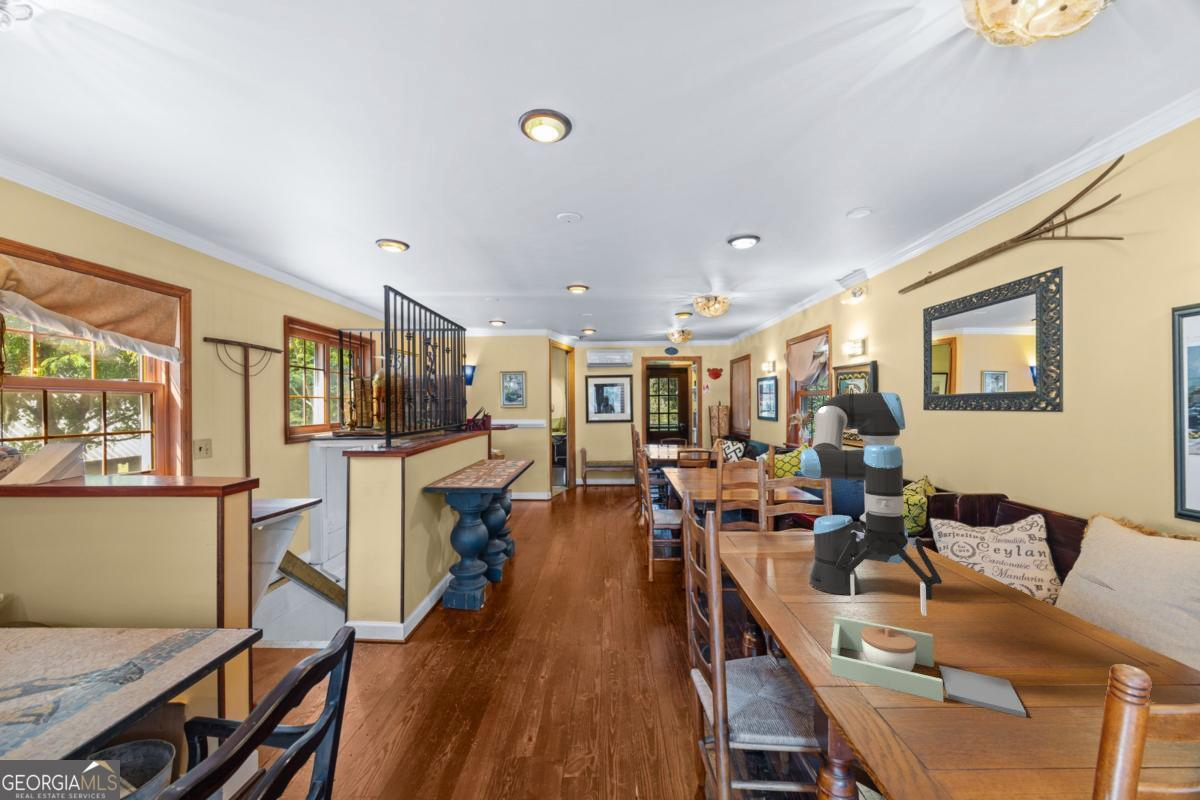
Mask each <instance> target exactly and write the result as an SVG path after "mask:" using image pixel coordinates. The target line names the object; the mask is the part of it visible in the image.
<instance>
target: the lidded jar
mask: <svg viewBox="0 0 1200 800" xmlns="http://www.w3.org/2000/svg"><path fill="white" fill-rule="evenodd" d="M861 637H862V648H863V652H862V653H863V655H864V657H865V660H866V662H869V663H873V664H878V665H882V666H887V667H891V668H896V669H900V670H904V671H909V672H912V670H913V669H914V668H915V664H916V663H915V661H916V648H917V643H916V641H915V640H914V638H912V637H911V636H910V635H908V634H906V633H904V632H902V631H899V630H896V629H893V628H888V627H883V626H868V627H865V628H863V629H862V630H861Z"/></svg>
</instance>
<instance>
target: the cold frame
mask: <svg viewBox="0 0 1200 800" xmlns="http://www.w3.org/2000/svg"><path fill="white" fill-rule="evenodd" d="M833 618H834V619H833V621H834V622H833V623H834V625H833V632H832V639H831V647H830V650H831V651H830V652H831V655H830V662H831V663H830V667H831V668H830V670H831V671H830V672H831V673H830V674H831V676H835V677H841V678H843V679H849V680H852V681H857V682H860V683H865V684H869V685H873V686H877V687H880V688H884V689H888V690H892V691H897V692H900V693H901V692H902V693H904V694H908V695H914V696H916V697H920V698H926V699H929V700H933V701H937V702H941V703H944V683H943V680H942V678H939V677H934V676H930V675H926V674H921V673H918V672H913V671H911V672H909V671H904V670H900V669H896V668H891V667H887V666H882V665H878V664H873V663H869V662H868V661H864V660H859V659H855V658H851V657H846V656H842V655H840V654H841V648H844V649H848V650H853V651H857V652H862V653H864V652H863V648H862V637H861V630H862V629H863V628H865V627H868V626H883V627H888V628H893V629H896V630H899V631H902V632H904V633H906V634H908V635H910V636H911V637H912V638H914V640H915V641H916V643H917V648H916V661H915V664H917V665H921V666H926V667H929V668H930V667H931V668H934V667H935V662H934V636H933V633H927V632H923V631H916V630H911V629H908V628H902V627H896V626H891V625H885V624H881V623H880V624H879V623H875V622H869V621H866V620H865V621H864V620H859V619H852V618H850V617H849V618H848V617H843V616H838V615H834V616H833Z"/></svg>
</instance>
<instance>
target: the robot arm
mask: <svg viewBox="0 0 1200 800" xmlns="http://www.w3.org/2000/svg"><path fill="white" fill-rule="evenodd" d="M813 422H814V423H813V424H814V425H815V429H814V433H813V434H814V435H813V441H812V444H811V448H805V449H802V450H801V452H800V471H801V473H802V474H801V475H802V476H804V477H805V478H812V479H813V478H814V479H829V480H849V481H851V480H852V481H862V482H863V488H864V489H863V491H864V496H863V497H864V513H863V514H861V515H860V516H859V521H853V520H854V519H853V518H852V516H850V515H843V514H830V515H822V516H819V517H817V518H816V519H815V520H814V522H813V537H814V540H813V541H814V542H813V545H814V551H813V553H814V554H813V555H814V562H813V564H812V568H811V571H810V573H809V576H808V577H809V584H810V583H811V584H812V585H813V586H814V587H816V588H818V589H820V590H823V591H826V592H825V593H827V592H829V594H832V593H835V594H834V595H839V594H844V596H845V595H846V596H848V595H849V594H851V595H849V596H850V603H851V604H854V605H855V603H856V602H855V601H856V597H855V596H856V594H859V592H861V582H860V580H859V576H858V574H857V572H856V569H857V567H858V566H859V565H861V563H862V562H863V561H864V560H868V561H874V562H875V561H876V562H882V563H886V564H887V563H888V564H889V563H893V564H901V563H903V562H905V563H906V564H907V566H908V567H910V569H911V570H912V571H913V572H914V573H915V575H917V576H918V578H919V579H920V581H919V590H920V592H919V593H920V594H919V595H920V612H921V616H922V617H923V616H924V617H927V600H928V601H932V599H933V588H932V587H933V585H937V584H938V585H941V584H942V583H943V580H942V578H941V576H940V574H939V573H938V571H937V569H936V568H935V566H934V564H933V562H932V561H931V559H930V557H929V556H928V554H927V552H926V551H925V549H924V546H923V541H922V537H920V536H914V537H908V536H909V535H908V534H909V531H908V527H907V526H905V516H904V515H903V514H904V513H905V505H904V502H905V500H904V499H905V498H904V496H905V495H904V470H903V469H904V466H903V464H904V459H903V451H902V448H901V447H900V446H898V445H895V440H897V439H898V438H899V437H900V436H901V431H903V430H905V429H906V420H905V414H904V408H903V404H902V400H901V398H900V395H898V394H897V393H895V392H882V391H881V392H863V393H858V392H857V393H855V392H854V393H841V394H837V395H833V396H832V397H830V398H828V399H826V400H825V401H823V402H822V403H821V404H820V405H819V406H818V407H817V409H816V410H815V412H814V417H813ZM845 429H846V430H857V437H859V438H860V439H861V440H862V446H863V448H862V450H856V449H855V450H853V449H851V450H850V449H843V443H844V442H843V441H844V430H845ZM908 544H910V545H911V547H912V548H914V549H916V550H917V553H918V555H919V557H920V558H921V560H922V561H923V563H924V565H925V566H926V568H927V571H929V573H930V575H931V576H928V574H926V572H925V571H924V570H923V569H922V568H921V567H920V566H919V565H918V564H917V562H916V561H914V560H915V559H913V558H912V557H911V555H909V554H908V552H907V549H908ZM814 587H813V588H814ZM816 588H815V589H816ZM818 589H817V590H818ZM820 590H819V591H820ZM823 591H822V592H823ZM855 593H856V594H855Z"/></svg>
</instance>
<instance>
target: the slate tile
mask: <svg viewBox="0 0 1200 800" xmlns="http://www.w3.org/2000/svg"><path fill="white" fill-rule="evenodd" d="M938 667H939V671H940V675H941V679H942V681H943V688H944V689H945V693H946V696H947V697H946V698H947V699H948V700H952V701H957V702H960V703H965V704H968V705H973V706H976V707H981V708H985V709H988V710H993V711H997V712H1001V713H1005V714H1010V715H1014V716H1018V717H1023V718H1027V712H1026V710H1025V708H1024V706H1023V704H1022V702H1021V701H1020V698H1019V697H1018V695H1017V693H1016V691H1015V690H1014V687H1013V686H1012V684H1011V682H1010V680H1009V679H1006V678H999V677H995V676H991V675H986V674H981V673H978V672H971V671H968V670H963V669H958V668H955V667H954V668H953V667H949V666H946V665H945V666H944V665H939V666H938Z"/></svg>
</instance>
